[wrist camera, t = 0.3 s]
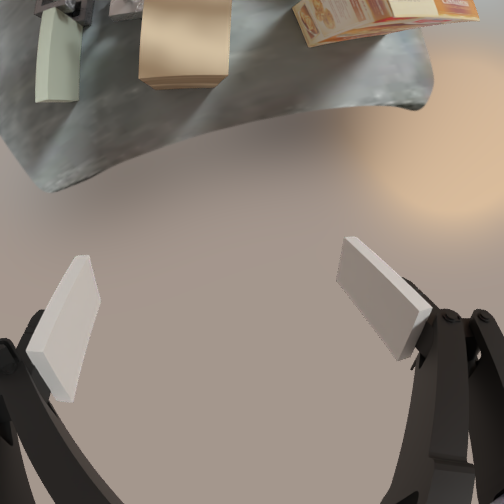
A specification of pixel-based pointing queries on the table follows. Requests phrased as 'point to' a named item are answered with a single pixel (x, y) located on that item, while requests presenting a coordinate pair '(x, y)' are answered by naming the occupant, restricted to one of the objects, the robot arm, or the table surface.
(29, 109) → the table surface
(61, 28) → the square frame paddle
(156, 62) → the cabinet
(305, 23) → the coffeecake box
